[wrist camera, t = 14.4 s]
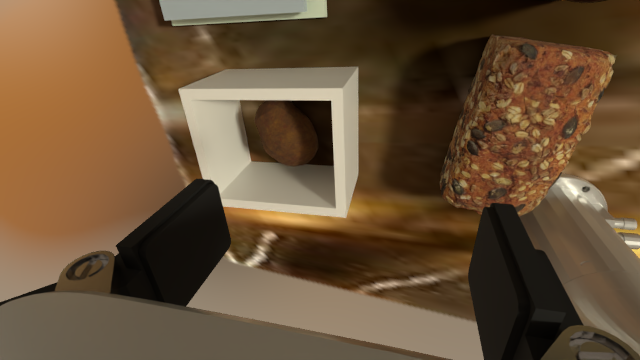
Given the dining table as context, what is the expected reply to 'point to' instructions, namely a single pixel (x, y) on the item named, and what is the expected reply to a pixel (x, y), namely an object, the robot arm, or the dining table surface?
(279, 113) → the potato
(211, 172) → the open box
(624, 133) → the dining table surface
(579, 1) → the supplement container
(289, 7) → the lid
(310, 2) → the mat
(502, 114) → the bread
